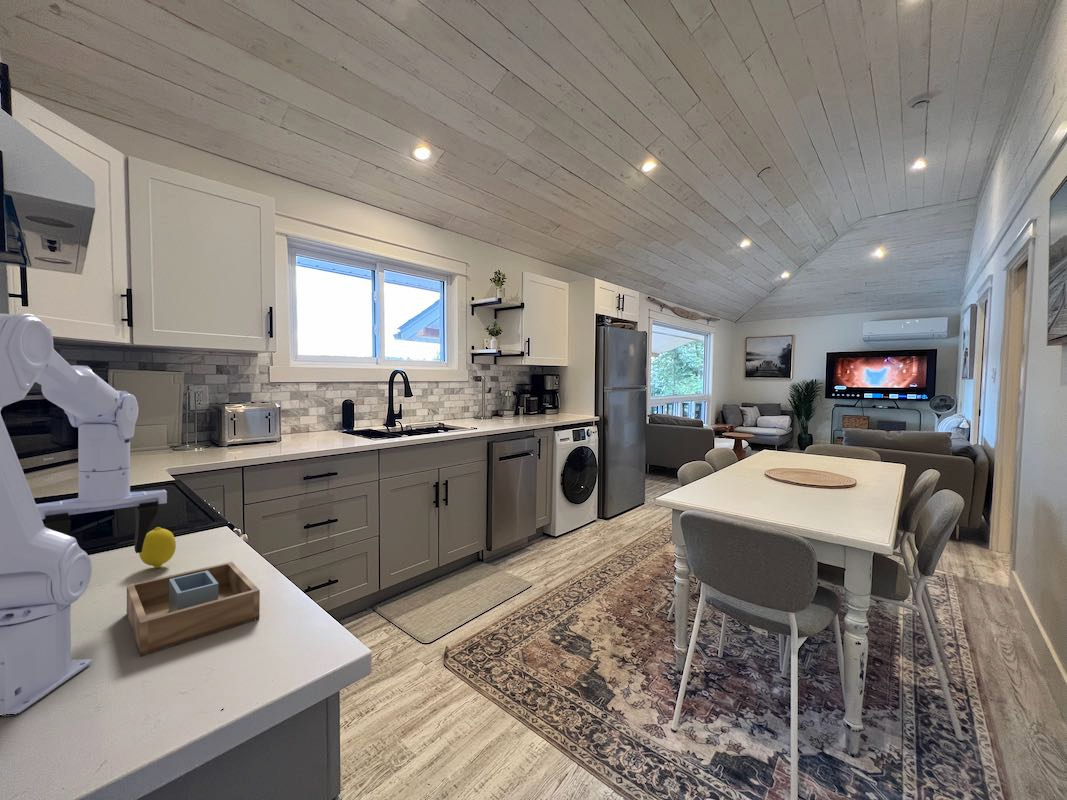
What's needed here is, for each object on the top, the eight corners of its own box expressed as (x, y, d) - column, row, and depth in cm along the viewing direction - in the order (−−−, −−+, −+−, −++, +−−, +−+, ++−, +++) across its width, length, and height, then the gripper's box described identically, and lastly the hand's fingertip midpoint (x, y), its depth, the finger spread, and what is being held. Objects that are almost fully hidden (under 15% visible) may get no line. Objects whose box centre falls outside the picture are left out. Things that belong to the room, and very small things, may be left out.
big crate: (259, 618, 70) (259, 590, 70) (139, 656, 59) (140, 622, 59) (231, 586, 81) (231, 561, 80) (126, 613, 70) (126, 585, 70)
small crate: (218, 615, 69) (218, 583, 69) (177, 627, 66) (177, 593, 65) (207, 600, 74) (207, 570, 74) (168, 610, 70) (169, 579, 70)
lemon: (154, 574, 85) (154, 532, 85) (131, 571, 86) (131, 530, 86) (182, 563, 90) (183, 524, 90) (160, 561, 91) (160, 522, 91)
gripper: (161, 460, 76) (161, 540, 77) (34, 470, 66) (34, 562, 66) (169, 466, 72) (168, 550, 72) (33, 477, 61) (33, 576, 61)
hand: (104, 557), depth 69 cm, fingers open, 7 cm apart
